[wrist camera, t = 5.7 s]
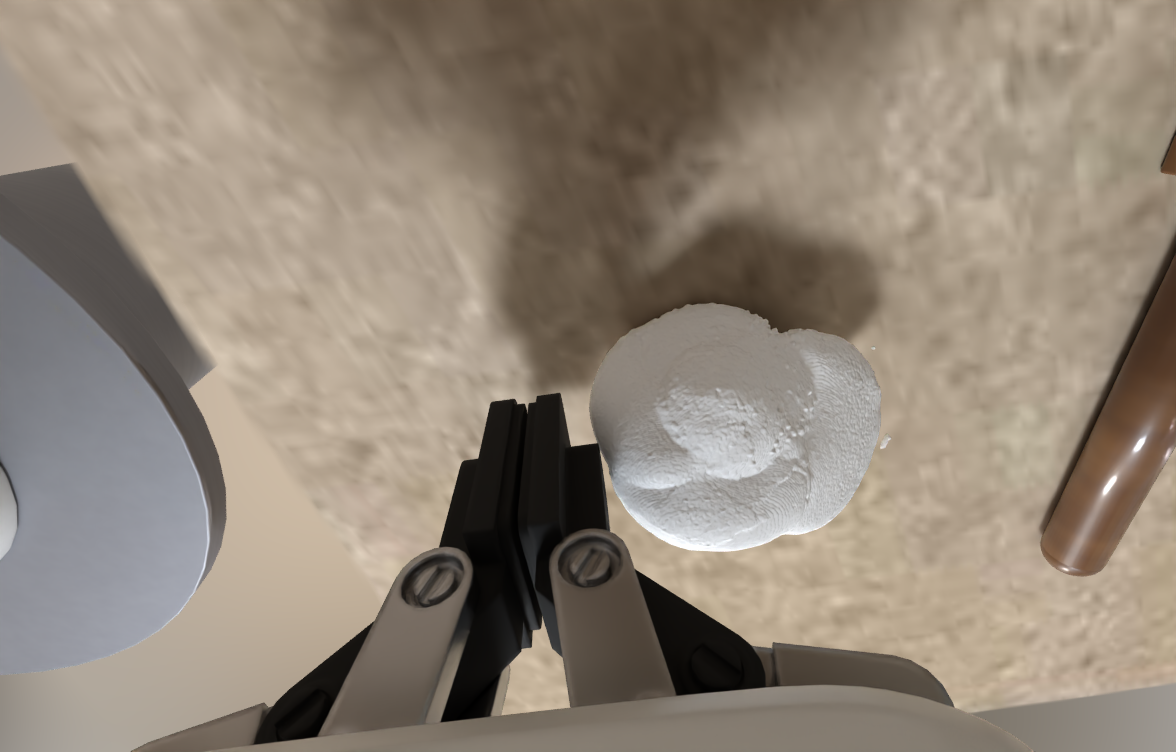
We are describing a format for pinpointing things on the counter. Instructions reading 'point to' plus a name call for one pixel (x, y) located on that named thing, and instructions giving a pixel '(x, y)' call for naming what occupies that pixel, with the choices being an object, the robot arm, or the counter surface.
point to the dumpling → (733, 426)
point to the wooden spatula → (1122, 443)
